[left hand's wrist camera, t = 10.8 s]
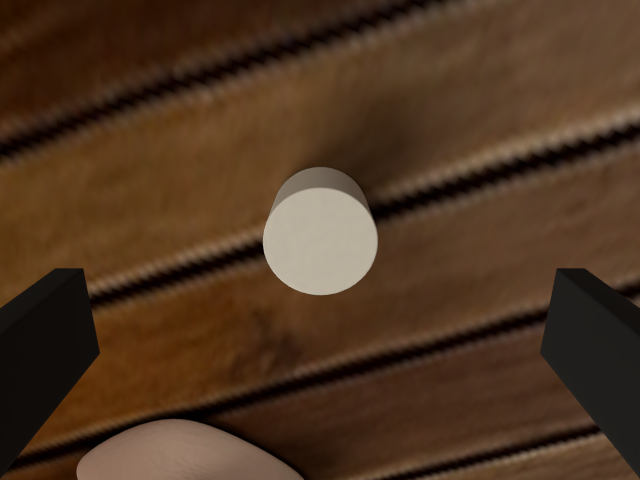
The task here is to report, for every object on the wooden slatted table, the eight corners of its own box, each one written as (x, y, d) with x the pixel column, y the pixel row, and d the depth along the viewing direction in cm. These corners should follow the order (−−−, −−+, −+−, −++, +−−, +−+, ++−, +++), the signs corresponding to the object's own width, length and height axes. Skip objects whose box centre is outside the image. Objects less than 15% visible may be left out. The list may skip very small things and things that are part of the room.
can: (321, 274, 23) (322, 315, 19) (253, 215, 22) (239, 245, 18) (386, 212, 22) (401, 242, 18) (318, 146, 21) (318, 162, 17)
